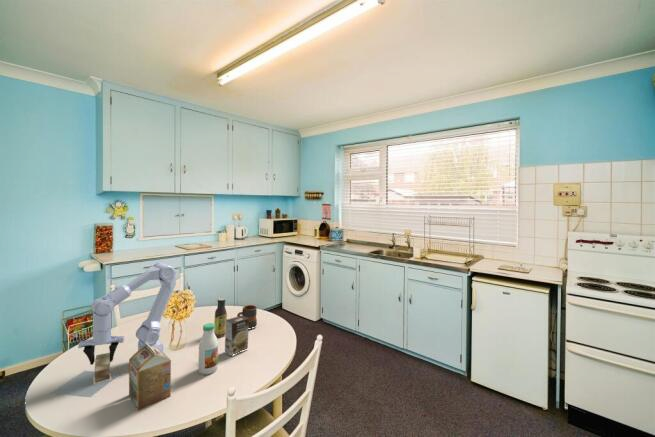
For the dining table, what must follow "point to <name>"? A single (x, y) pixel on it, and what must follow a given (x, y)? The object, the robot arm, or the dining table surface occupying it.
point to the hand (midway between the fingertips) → (102, 362)
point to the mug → (250, 314)
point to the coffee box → (236, 334)
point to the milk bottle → (208, 350)
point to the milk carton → (149, 377)
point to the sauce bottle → (220, 318)
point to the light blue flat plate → (83, 385)
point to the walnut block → (102, 375)
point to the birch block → (102, 362)
